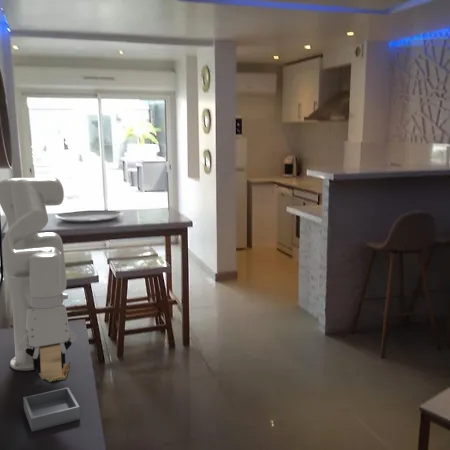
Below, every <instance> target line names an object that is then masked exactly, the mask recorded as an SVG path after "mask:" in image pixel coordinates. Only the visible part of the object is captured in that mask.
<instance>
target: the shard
mask: <svg viewBox="0 0 450 450" xmlns="http://www.w3.org/2000/svg"><path fill="white" fill-rule="evenodd" d="M70 365H71V362H68V363H65V364H63V368H62V375H60V376H55V377H50V378H46V379H45V380H46V381H47V382H49V383H52V381H53V382H55V381H56V380H57V381H62V379H63V380H66V379H67V375H68V373H69V370H70Z"/></svg>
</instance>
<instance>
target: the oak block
mask: <svg viewBox="0 0 450 450" xmlns="http://www.w3.org/2000/svg"><path fill="white" fill-rule="evenodd" d="M38 355H39V358H40V370H41V372H40V373H38V375H39V378H40V379H41V380H46V378H50V377H55V376H60V375H62V364H61V345H60V344H54V345H48V346H42V347H40V348H39V354H38Z"/></svg>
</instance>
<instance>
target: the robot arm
mask: <svg viewBox="0 0 450 450" xmlns="http://www.w3.org/2000/svg"><path fill="white" fill-rule="evenodd" d="M64 191H65V190H64V187H63V184H62V182H61V181H60V179H58V178H56V177H11V178H7V179H6V178H4V179H2V180H0V207H1V210H2V212H3V213H4V216H5V218H6V220H7V225H8V226H7V227H8V229H7V231H6V233H5V234H4V236H3V240H2V254H3V263H4V268H5V271H6V274H7V275H8V277H7V278H8V279H7V285H8V290H9V294H10V299H11V300H10V301H11V306H12V307H11V308H12V320H13V321H12V322H13V339H14V357H13V358H11V359H10V367H11V368H12V369H13V370H16V371H34V370H36V372H37V374H39V373H40V372H41V370H40V358H39V355H38V354H39V348H40V347H42V346H48V345H54V344H60V345H61V364H62V368H63V365H65V364H66V352H67V350H68V349H69V348H70V347H71V346H72V344H73V343H75V341H77V340H78V338H79V337H78V335H77V334H76V333H75V332H74V331H73V330H72V329H71V328H70V326H69V319H68V312H67V307H66V305H65V303H64V301H65V300H68V298H69V295H68V293H64V292H65V291H66V289H67V285H68V283H67V281H68V280H67V270H66V261H65V259H66V258H65V252H64V251H65V250H64V243H63V240H62V237H61V236H60V235H59V234H58V233H57V232H53V231H50V232H46V231H45V232H40V231H42V230H43V229H44V228H46V227H47V225H48V223H49V215H48V213H47V208H46V207H47V206H48V207H49V206H51V207H52V206H60V205H61V204H63V202H64V198H65V193H64Z"/></svg>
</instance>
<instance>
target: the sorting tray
mask: <svg viewBox="0 0 450 450" xmlns="http://www.w3.org/2000/svg"><path fill="white" fill-rule="evenodd" d="M22 399H23V410H24V414H25V417H26V418H27V421H28V422H27V423H28V424H29V428H30V431H31V432H32V433H33V432H36V431H40V430H41V431H42V430H44V429H50V428H52V427H56V426H57V427H58V426H61V425H63V424H67V423H71V422H75V421H80V420H81V414H80V413H81V411H80V410H81V409H80V408H81V407H80V405H79V403H78V402H77V400H76V398H75V396H74V394H73V393H72V391H71V390H70V387H63V388H59V389H58V388H57V389H55V390H50V391H46V392H42V393H41V392H40V393H37V394H33V395H29V396H23V398H22Z"/></svg>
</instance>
